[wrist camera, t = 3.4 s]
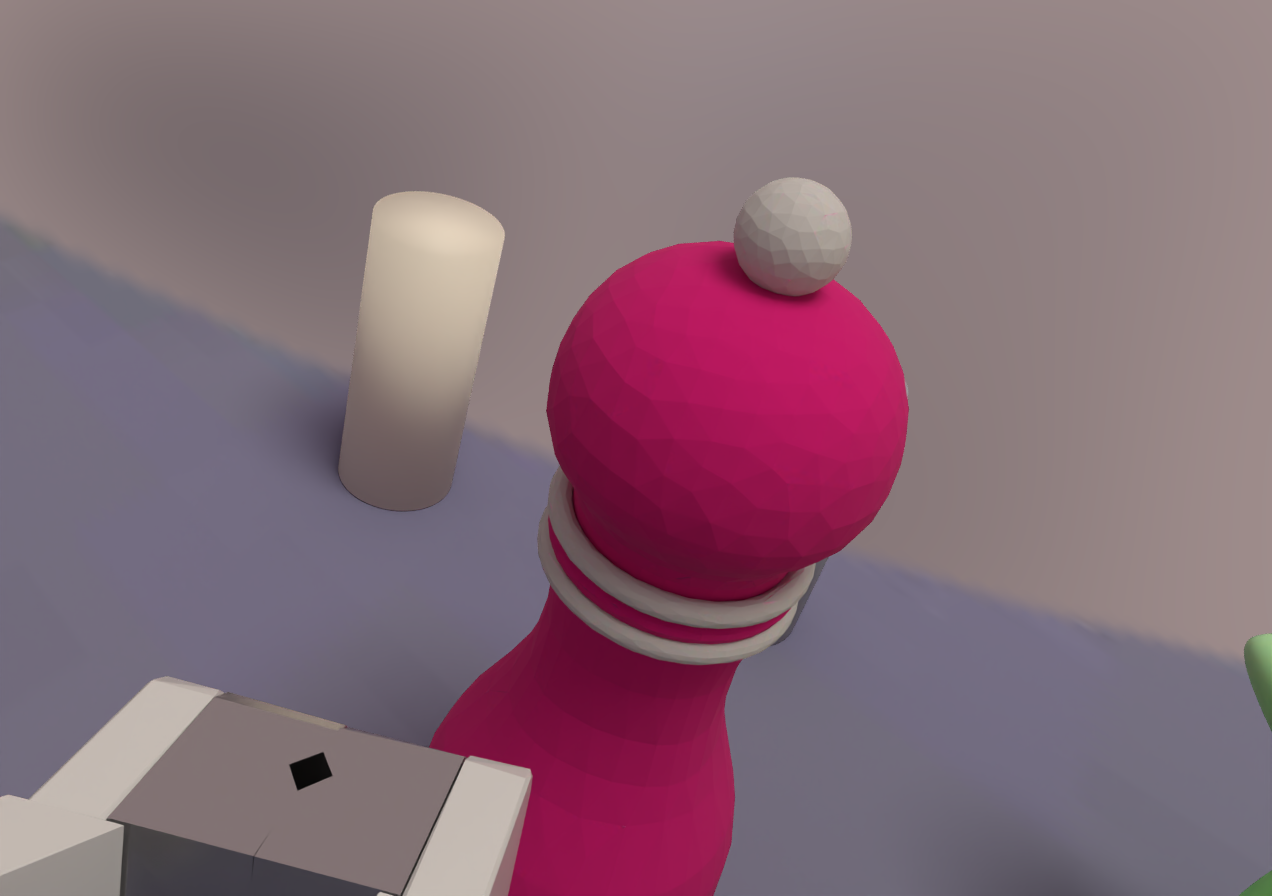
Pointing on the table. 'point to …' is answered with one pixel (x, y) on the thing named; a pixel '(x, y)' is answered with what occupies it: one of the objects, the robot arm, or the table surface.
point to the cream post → (417, 346)
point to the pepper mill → (683, 537)
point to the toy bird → (1268, 673)
